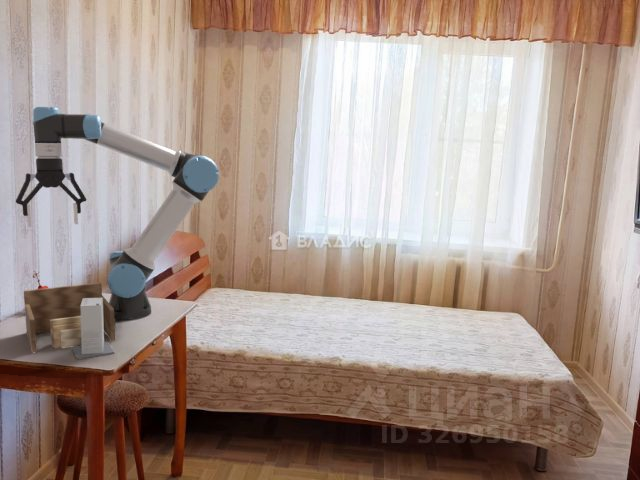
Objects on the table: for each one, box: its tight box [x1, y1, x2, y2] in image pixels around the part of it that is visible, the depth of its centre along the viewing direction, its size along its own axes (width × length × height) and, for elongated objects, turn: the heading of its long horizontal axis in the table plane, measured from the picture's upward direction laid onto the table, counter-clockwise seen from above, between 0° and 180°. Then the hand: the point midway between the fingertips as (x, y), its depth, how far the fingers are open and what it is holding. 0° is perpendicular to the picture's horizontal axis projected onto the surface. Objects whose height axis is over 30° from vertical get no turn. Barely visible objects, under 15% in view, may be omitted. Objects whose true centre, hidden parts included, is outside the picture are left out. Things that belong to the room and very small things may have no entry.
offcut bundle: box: [49, 316, 82, 349], centre depth 179 cm, size 12×5×8 cm, turn 120°
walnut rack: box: [23, 282, 116, 353], centre depth 185 cm, size 23×21×14 cm
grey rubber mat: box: [72, 341, 115, 360], centre depth 173 cm, size 10×10×1 cm
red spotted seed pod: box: [32, 270, 49, 289], centre depth 213 cm, size 8×7×15 cm
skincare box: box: [80, 298, 105, 354], centre depth 172 cm, size 8×6×15 cm
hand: (53, 225), depth 187 cm, fingers open, 13 cm apart
